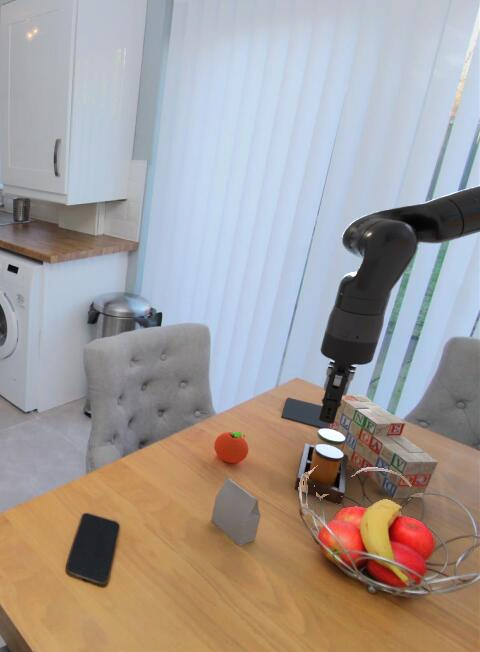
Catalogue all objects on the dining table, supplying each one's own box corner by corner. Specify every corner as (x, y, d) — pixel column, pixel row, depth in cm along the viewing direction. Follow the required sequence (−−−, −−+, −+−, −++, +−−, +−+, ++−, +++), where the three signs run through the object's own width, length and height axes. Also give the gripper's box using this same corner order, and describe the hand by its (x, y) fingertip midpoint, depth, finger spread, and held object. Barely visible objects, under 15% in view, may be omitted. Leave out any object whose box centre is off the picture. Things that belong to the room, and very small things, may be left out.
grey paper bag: (239, 546, 89) (249, 503, 85) (211, 520, 95) (219, 479, 91) (254, 540, 90) (265, 498, 86) (225, 515, 96) (234, 475, 92)
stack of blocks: (423, 499, 98) (444, 449, 94) (392, 499, 98) (411, 449, 94) (349, 437, 118) (363, 393, 113) (323, 437, 118) (336, 394, 114)
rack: (344, 467, 108) (347, 455, 107) (340, 506, 97) (344, 493, 96) (301, 454, 113) (305, 442, 111) (293, 490, 102) (297, 477, 101)
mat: (349, 414, 127) (349, 412, 127) (347, 436, 118) (347, 434, 118) (287, 399, 135) (287, 397, 135) (280, 418, 127) (281, 416, 126)
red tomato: (227, 446, 116) (232, 421, 114) (255, 461, 111) (261, 436, 108) (205, 456, 113) (210, 431, 110) (232, 473, 107) (238, 447, 105)
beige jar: (335, 467, 108) (345, 433, 104) (333, 478, 104) (344, 444, 101) (309, 459, 110) (319, 426, 107) (307, 470, 107) (317, 436, 104)
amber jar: (333, 484, 103) (344, 449, 99) (331, 497, 99) (343, 461, 96) (306, 475, 105) (316, 441, 102) (303, 487, 102) (314, 452, 98)
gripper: (376, 351, 77) (350, 436, 83) (382, 324, 87) (357, 402, 93) (320, 340, 82) (298, 421, 88) (331, 316, 91) (311, 390, 98)
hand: (329, 411), depth 90 cm, fingers open, 8 cm apart
